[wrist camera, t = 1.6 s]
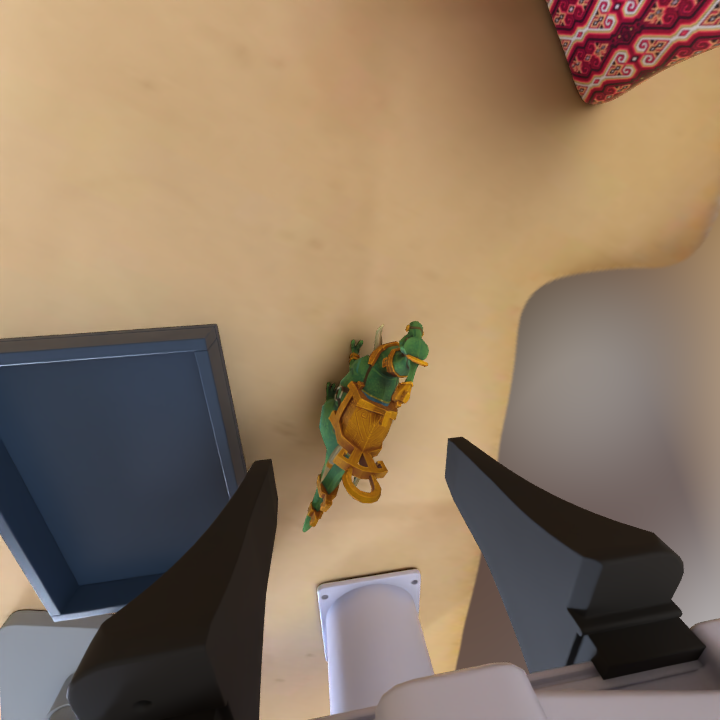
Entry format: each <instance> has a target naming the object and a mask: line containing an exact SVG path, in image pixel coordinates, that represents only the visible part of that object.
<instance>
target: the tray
mask: <svg viewBox="0 0 720 720" xmlns="http://www.w3.org/2000/svg"><path fill="white" fill-rule="evenodd" d="M246 475H247V470H246V465H245V460H244V455H243V450H242V445H241V440H240V435H239V430H238V425H237V420H236V415H235V410H234V406H233V401H232V396H231V391H230V386H229V381H228V376H227V371H226V366H225V361H224V356H223V351H222V347H221V342H220V337H219V332H218V327H217V324H210V325H195V326H181V327H166V328H152V329H137V330H123V331H109V332H94V333H80V334H65V335H51V336H36V337H22V338H8V339H0V535H1V536H2V538H3V540H4V541H5V543H6V544H7V546H8V548H9V549H10V551H11V553H12V554H13V556H14V558H15V559H16V561H17V562H18V564H19V566H20V567H21V569H22V571H23V572H24V574H25V575H26V577H27V579H28V580H29V582H30V584H31V585H32V587H33V589H34V590H35V592H36V593H37V595H38V597H39V598H40V600H41V602H42V603H43V605H44V606H45V608H46V610H47V611H48V613H49V615H50V616H51V618H52V619H53V621H54V622H58V621H65V620H71V619H77V618H83V617H90V616H96V615H102V614H108V613H115V612H118V611H119V610H120V609H122V608H123V607H124V606H125V605H127V604H128V603H129V602H131V601H132V600H133V599H135V598H136V597H137V596H138V595H140V594H141V593H142V592H143V591H145V590H146V589H147V588H148V587H149V586H151V585H152V584H153V583H154V582H155V581H156V580H158V579H159V578H160V577H161V576H162V575H163V574H164V573H165V572H167V571H168V570H169V569H170V568H171V567H172V566H173V565H174V564H175V563H176V562H177V561H178V560H179V559H180V558H181V557H182V556H183V555H184V554H185V553H186V552H187V551H188V550H189V549H190V548H191V547H192V546H193V545H194V544H195V543H196V542H197V540H198V539H199V538H200V537H201V536H202V535H203V534H204V533H205V531H206V530H207V529H208V528H209V527H210V525H211V524H212V523H213V522H214V520H215V519H216V518H217V517H218V515H219V514H220V513H221V511H222V510H223V509H224V507H225V506H226V505H227V503H228V502H229V500H230V499H231V498H232V496H233V495H234V493H235V492H236V490H237V489H238V487H239V486H240V484H241V483H242V481H243V479H244V478H245V476H246Z"/></svg>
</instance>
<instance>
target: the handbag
mask: <svg viewBox="0 0 720 720" xmlns="http://www.w3.org/2000/svg"><path fill="white" fill-rule="evenodd" d="M546 3H547V6H548V8H549V11H550V14H551V17H552V19H553V22H554V25H555V28H556V30H557V33H558V36H559V39H560V42H561V45H562V47H563V50H564V53H565V56H566V59H567V62H568V65H569V68H570V71H571V74H572V77H573V80H574V82H575V85H576V88H577V90H578V92H579V95H580V96H581V98H582V99H583V101H584V102H586V103H588V104H602V103H606V102H609V101H612V100H614V99H616V98H618V97H620V96H621V95H623V94H625V93H626V92H628V91H630V90H631V89H633V88H635V87H636V86H638V85H639V84H641V83H643V82H644V81H646V80H648V79H649V78H651V77H653V76H654V75H656V74H658V73H660V72H662V71H664V70H665V69H667V68H669V67H671V66H673V65H676V64H678V63H680V62H682V61H685V60H687V59H689V58H692V57H694V56H696V55H699V54H701V53H704V52H706V51H709V50H712V49H714V48H717V47H719V46H720V0H546Z"/></svg>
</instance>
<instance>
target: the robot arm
mask: <svg viewBox="0 0 720 720" xmlns="http://www.w3.org/2000/svg"><path fill="white" fill-rule="evenodd" d="M445 479H446V482H447V484H448V487H449V490H450V492H451V495H452V497H453V500H454V502H455V504H456V506H457V507H458V509H459V511H460V513H461V515H462V517H463V519H464V520H465V522H466V524H467V526H468V528H469V530H470V531H471V533H472V535H473V537H474V539H475V541H476V542H477V544H478V546H479V548H480V550H481V552H482V554H483V556H484V558H485V560H486V562H487V564H488V567H489V569H490V571H491V574H492V576H493V578H494V581H495V583H496V586H497V588H498V590H499V593H500V595H501V598H502V600H503V603H504V605H505V608H506V610H507V613H508V615H509V618H510V621H511V623H512V626H513V629H514V631H515V634H516V636H517V639H518V642H519V645H520V647H521V650H522V653H523V656H524V659H525V662H526V665H527V667H528V670H529V673H530V674H526V673H525V671H524V670H523V669H521V668H520V667H518V666H516V665H514V664H511V663H509V662H504V663H503V662H502V663H490V664H485V665H480V666H475V667H471V668H466V669H460V670H455V671H450V672H445V673H440V674H435V675H434V671H433V667H432V664H431V660H430V657H429V653H428V649H427V646H426V642H425V639H424V635H423V631H422V628H421V624H420V621H419V600H420V581H421V575H420V572H419V570H417V569H411V570H405V571H399V572H392V573H386V574H380V575H374V576H368V577H361V578H355V579H349V580H343V581H337V582H330V583H324V584H321V585H319V586H318V588H317V594H318V602H319V610H320V618H321V626H322V634H323V642H324V650H325V658H326V660H327V661H328V673H329V695H330V715H329V716H324V717H319V718H314V719H309V720H720V618H719V619H714V620H709V621H704V622H700V623H697V624H695V625H694V626H692V627H691V628H690V629H689V628H688V626H687V625H685V623H684V622H683V621H682V620H681V619H680V618H679V617H681V615H682V611H681V610H680V609H679V607H678V606H677V605H675V603H674V602H673V601H672V600H671V598H672V597H673V595H674V593H675V591H676V589H677V587H678V585H679V583H680V581H681V579H682V576H683V573H684V569H683V562H682V560H681V558H680V557H679V556H678V555H677V554H676V553H675V552H674V551H673V550H672V549H670V548H669V547H668V546H667V545H666V544H665V543H664V542H663V541H662V540H661V539H660V538H658V537H657V536H656V535H655V534H654V533H652V532H649V531H646V530H642V529H639V528H636V527H633V526H630V525H627V524H623V523H620V522H617V521H614V520H612V519H609V518H606V517H603V516H600V515H598V514H595V513H593V512H590V511H588V510H585V509H583V508H581V507H578V506H576V505H574V504H572V503H569V502H567V501H565V500H562V499H561V498H558V497H556V496H554V495H552V494H550V493H549V492H547V491H545V490H543V489H541V488H539V487H537V486H535V485H534V484H532V483H530V482H528V481H527V480H525V479H523V478H522V477H520V476H518V475H517V474H515V473H513V472H512V471H511V470H509V469H507V468H506V467H504V466H503V465H501V464H500V463H499V462H497V461H496V460H494V459H493V458H491V457H490V456H489V455H487V454H486V453H484V452H483V451H482V450H480V449H479V448H477V447H476V446H475V445H473V444H472V443H470V442H469V441H468V440H466V439H465V438H463V437H456V438H448V446H447V458H446V470H445ZM277 512H278V496H277V490H276V484H275V478H274V472H273V466H272V460H271V459H267V460H259V461H255V462H254V463H253V464H252V466H251V468H250V469H249V471H248V473H247V475H246V476H245V478H244V479H243V481H242V483H241V484H240V486H239V487H238V489H237V490H236V492H235V493H234V495H233V496H232V498H231V499H230V500H229V502H228V503H227V505H226V506H225V507H224V509H223V510H222V511H221V513H220V514H219V515H218V517H217V518H216V519H215V520H214V522H213V523H212V524H211V525H210V527H209V528H208V529H207V530H206V531H205V533H204V534H203V535H202V536H201V537H200V538H199V539H198V540H197V542H196V543H195V544H194V545H193V546H192V547H191V548H190V549H189V550H188V551H187V552H186V553H185V554H184V555H183V556H182V557H181V558H180V559H179V560H178V561H177V562H176V563H175V564H174V565H173V566H172V567H171V568H170V569H169V570H168V571H167V572H165V573H164V574H163V575H162V576H161V577H160V578H159V579H158V580H156V581H155V582H154V583H153V584H152V585H151V586H149V587H148V588H147V589H146V590H145V591H143V592H142V593H141V594H140V595H138V596H137V597H136V598H135V599H133V600H132V601H131V602H129V603H128V604H127V605H125V606H124V607H123V608H122V609H120V610H119V611H118V612H116V613H115V614H114V615H112V616H111V617H110V618H108V619H107V620H105V621H104V622H103V623H102V624H101V626H100V628H99V629H98V631H97V633H96V634H95V636H94V637H93V639H92V641H91V643H90V644H89V646H88V648H87V650H86V652H85V654H84V656H83V658H82V660H81V662H80V664H79V666H78V668H77V670H76V672H75V673H74V675H73V677H72V679H71V681H70V683H69V685H68V687H67V693H66V698H67V700H68V703H69V705H70V708H71V709H72V711H73V712H74V714H75V715H76V716H77V718H78V719H79V720H259V707H260V684H261V664H262V646H263V630H264V615H265V601H266V591H267V583H268V577H269V571H270V564H271V558H272V552H273V546H274V540H275V533H276V527H277Z"/></svg>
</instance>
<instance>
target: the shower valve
mask: <svg viewBox="0 0 720 720" xmlns="http://www.w3.org/2000/svg"><path fill="white" fill-rule="evenodd" d="M111 616H112V614H102V615H96V616H90V617H83V618H77V619H71V620H65V621H58V622H54V621H53V619H52V618H51V616H50V615H49V613H48V611H35V610H22V611H17V612H14V613H12V614H11V615H10V616H9V618H8V619H7V620H6V622H5V623H4V624H3V626H2V627H1V628H0V706H1V720H79V719H78V718H77V716H76V715H75V714H74V712H73V711H72V709H71V708H70V705H69V703H68V700H67V698H66V693H67V687H68V685H69V683H70V681H71V679H72V677H73V675H74V673H75V672H76V670H77V668H78V666H79V664H80V662H81V660H82V658H83V656H84V654H85V652H86V650H87V648H88V646H89V644H90V643H91V641H92V639H93V637H94V636H95V634H96V633H97V631H98V629H99V628H100V626H101V624H102V623H103V622H104V621H105V620H107V619H108V618H110V617H111Z"/></svg>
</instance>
